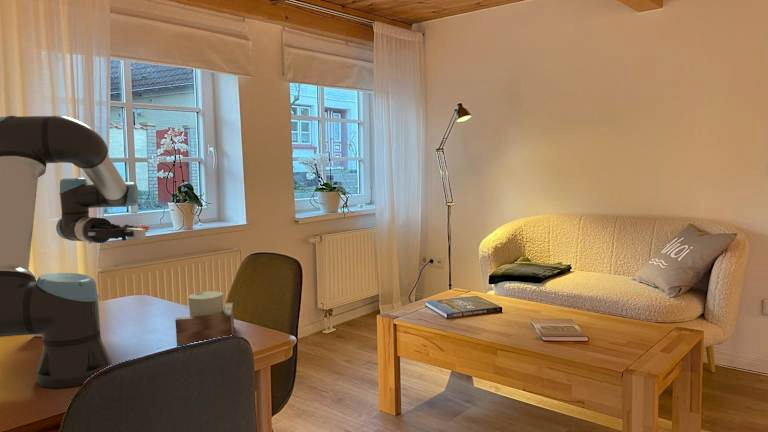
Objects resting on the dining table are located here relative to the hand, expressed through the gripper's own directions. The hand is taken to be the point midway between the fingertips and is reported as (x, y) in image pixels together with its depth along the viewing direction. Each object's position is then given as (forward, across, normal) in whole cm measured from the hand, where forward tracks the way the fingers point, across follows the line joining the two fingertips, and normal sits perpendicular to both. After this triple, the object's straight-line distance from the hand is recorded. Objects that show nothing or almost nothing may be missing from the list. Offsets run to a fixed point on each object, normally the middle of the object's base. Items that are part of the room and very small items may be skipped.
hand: (143, 234), depth 165 cm
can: (+18, -5, -28) cm, 34 cm away
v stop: (+22, -5, -28) cm, 36 cm away
